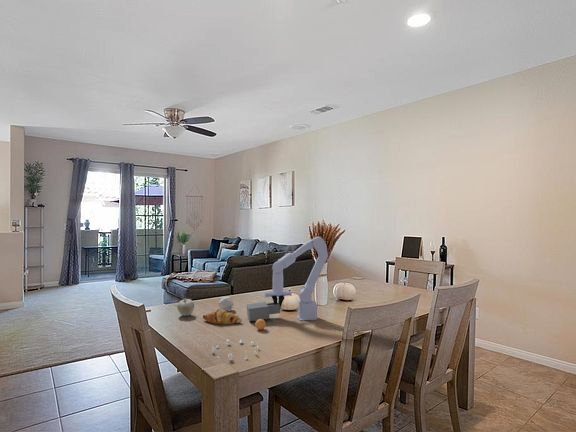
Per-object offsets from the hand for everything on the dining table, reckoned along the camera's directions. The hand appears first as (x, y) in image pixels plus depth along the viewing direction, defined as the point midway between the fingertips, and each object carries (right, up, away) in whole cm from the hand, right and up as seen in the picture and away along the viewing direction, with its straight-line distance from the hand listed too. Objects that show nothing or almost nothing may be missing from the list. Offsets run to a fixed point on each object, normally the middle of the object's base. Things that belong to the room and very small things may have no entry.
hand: (277, 309), depth 185 cm
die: (-30, -5, +14) cm, 34 cm away
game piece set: (-16, -5, -45) cm, 48 cm away
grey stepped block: (-7, -3, -2) cm, 8 cm away
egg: (-8, -2, -19) cm, 20 cm away
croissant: (-28, -5, -7) cm, 30 cm away
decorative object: (-50, -5, +4) cm, 51 cm away
